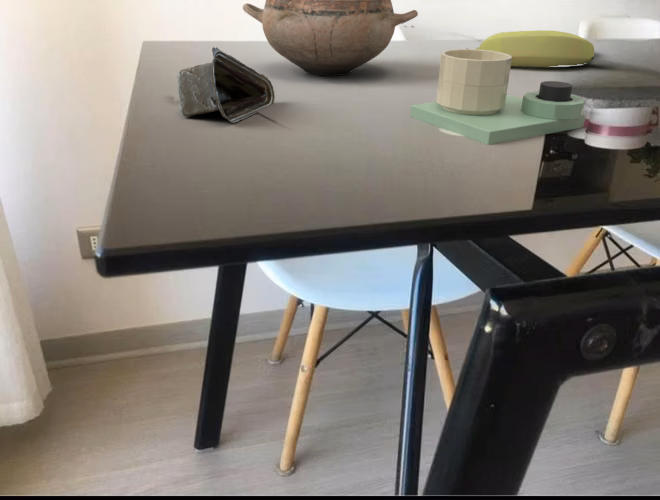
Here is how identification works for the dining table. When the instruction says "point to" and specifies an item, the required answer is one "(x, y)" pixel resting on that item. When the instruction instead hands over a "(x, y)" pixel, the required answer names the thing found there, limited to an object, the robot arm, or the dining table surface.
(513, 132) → the scale
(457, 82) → the beige faceted cup
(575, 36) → the banana
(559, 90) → the button
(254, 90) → the hollow triangular tube
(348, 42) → the cooking pot
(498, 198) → the dining table surface
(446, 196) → the dining table surface
